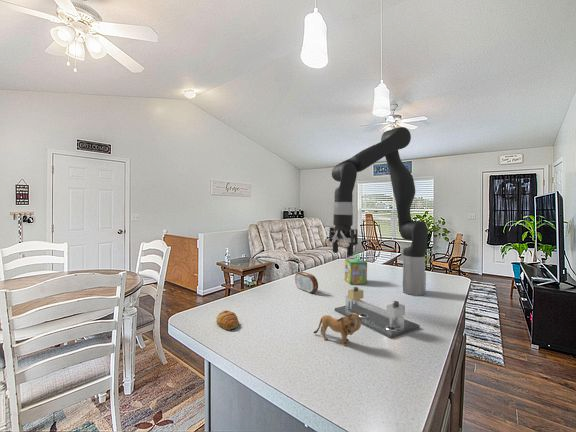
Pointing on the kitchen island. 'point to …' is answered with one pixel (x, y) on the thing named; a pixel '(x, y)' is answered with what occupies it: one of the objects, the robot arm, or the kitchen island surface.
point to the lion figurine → (340, 325)
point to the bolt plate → (377, 321)
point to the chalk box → (356, 271)
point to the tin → (306, 282)
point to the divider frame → (385, 311)
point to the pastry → (227, 320)
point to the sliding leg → (354, 295)
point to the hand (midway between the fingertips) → (342, 254)
